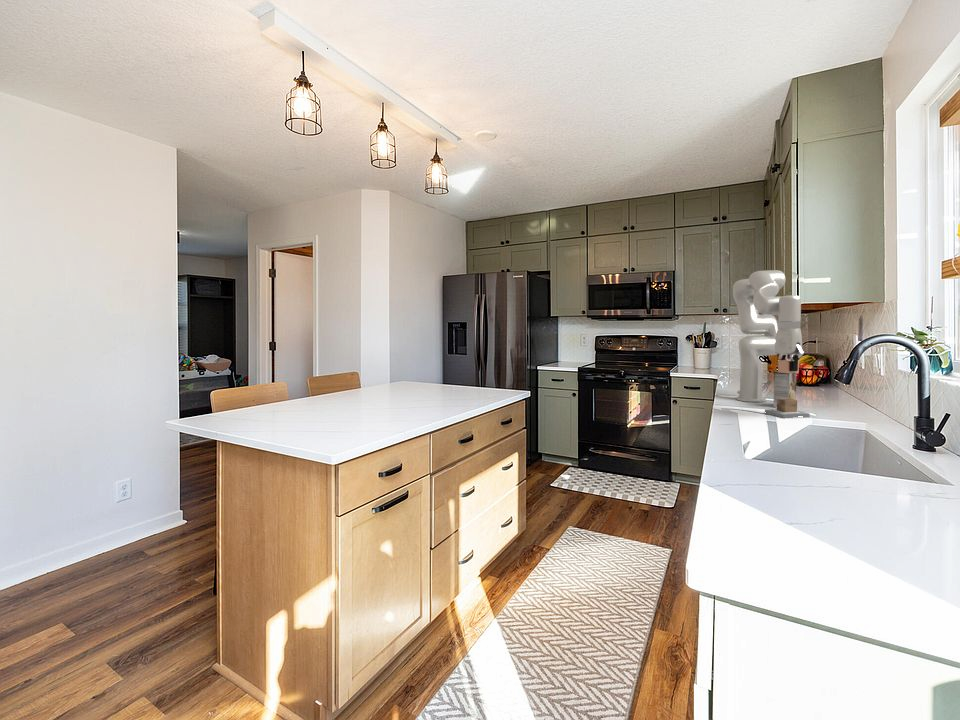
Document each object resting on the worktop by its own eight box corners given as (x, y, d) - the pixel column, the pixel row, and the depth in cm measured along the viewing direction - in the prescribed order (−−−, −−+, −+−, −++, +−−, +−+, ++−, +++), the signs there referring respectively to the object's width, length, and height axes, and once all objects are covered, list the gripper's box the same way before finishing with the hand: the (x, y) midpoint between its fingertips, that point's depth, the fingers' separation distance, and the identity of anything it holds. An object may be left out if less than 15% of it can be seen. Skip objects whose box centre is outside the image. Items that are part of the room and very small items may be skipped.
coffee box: (780, 404, 213) (781, 370, 212) (796, 406, 208) (797, 371, 207) (772, 407, 208) (773, 372, 206) (789, 409, 203) (790, 373, 201)
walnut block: (776, 410, 193) (776, 398, 192) (788, 409, 193) (788, 398, 192) (785, 412, 188) (785, 400, 187) (796, 412, 188) (797, 400, 187)
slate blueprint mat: (764, 413, 195) (764, 409, 195) (789, 412, 196) (789, 408, 196) (783, 418, 184) (783, 414, 184) (809, 417, 185) (809, 413, 185)
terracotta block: (778, 372, 191) (778, 360, 191) (789, 371, 191) (789, 359, 191) (786, 373, 186) (787, 360, 186) (798, 372, 186) (798, 360, 186)
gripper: (766, 326, 196) (765, 369, 197) (796, 326, 179) (795, 372, 180) (782, 326, 196) (782, 368, 197) (814, 325, 179) (813, 372, 180)
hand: (788, 370), depth 188 cm, fingers closed on terracotta block, 5 cm apart
